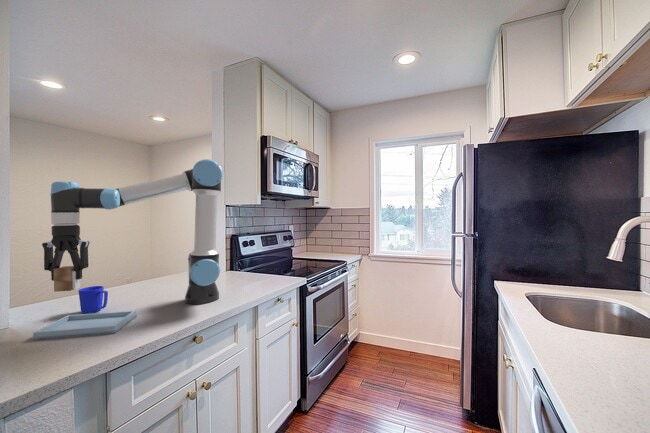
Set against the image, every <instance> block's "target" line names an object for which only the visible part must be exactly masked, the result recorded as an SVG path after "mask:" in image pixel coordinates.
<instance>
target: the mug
mask: <svg viewBox="0 0 650 433" xmlns="http://www.w3.org/2000/svg"><path fill="white" fill-rule="evenodd" d="M104 288H105V287H104V286H102V285H93V286H88V287H82V288H80V289H78V296H79V297H78V298H79V306H80V312H81V313H82V314H93V313H99V311H101V310H103V309H104V308H106V307H107V304H108V300H109V299H108V296H109V291H108V290H104Z"/></svg>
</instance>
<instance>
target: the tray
mask: <svg viewBox="0 0 650 433" xmlns="http://www.w3.org/2000/svg"><path fill="white" fill-rule="evenodd" d="M137 314H138V312H137V310H123V311H122V310H121V311H111V312H110V311H107V312H95V313H89V314H84V313H82V314H67V315H66V316H64V317H62V318H60V319H57V320H56V321H54V322H51V323H50V324H47V325H46V326H44V327H42V328H40V329H38V330H36V331H34V332H33V333H32V334H33V340H34V341H37V340H38V341H39V340H52V339H61V338H62V339H65V338H74V337H86V336H98V334H100V335H109V333H112V334H116V333H117V332H118V331H120V330H122V329H123V328H124V327H125V326H127V325H128V324H129V323H130V322H132V321H133V320H134V319H136V318H137V316H138V315H137ZM122 327H123V328H122Z"/></svg>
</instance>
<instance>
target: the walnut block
mask: <svg viewBox="0 0 650 433" xmlns="http://www.w3.org/2000/svg"><path fill="white" fill-rule="evenodd" d="M74 270H75V269H74V266H73V265H65V266H60V268H56V269H54V281H53V290H54V291H53V292H54V293H55V292H72V291H74V290H75V289H73V281H72V271H74Z"/></svg>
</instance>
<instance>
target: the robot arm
mask: <svg viewBox="0 0 650 433" xmlns="http://www.w3.org/2000/svg"><path fill="white" fill-rule="evenodd" d="M223 177H224V174H223V168H222V167H221V166H220V164H219V163H218V162H216V161H215V160H212V159H208V158H206V159H201V160H199V161H197V162H196V163H195V164H194V165H193V168H191V169H188V170H184V171H183V172H182V173H181V174H177V175H171V176H168V177H163V178H159V179H155V180H150V181H145V182H141V183H136V184H132V185H127V186H123V187H119V188H84V187H80V185H79V183H78V182H73V181H54V182H52V183H51V184H50V186H51V187H50V195H49V196H50V206H51V208H50V209H51V211H50V212H51V213H50V214H51V215H50V216H51V217H50V218H51V224H52V226H51V236H52V238H51V240H50V241H48V242H47V241H46V242H42V244H41V245H42V248H43V257H44V258H43V269H44V271H49V272H50V274H51V275H50V276H51V277H50V278H51V279H50V280H51V281H52V282H54V269H56V268H60V267H61V263H62V261H63V257H64V254H65V253H66V252H67V253H68V254H69V256H70V259H71V262H72V266H74V269H75V270H74V271H72V281H73V289H74V290H76V289H79V288H80V289H81V279H82V278H83V270H85V269H88V268H89V245H90V243H91V242H90V241H89V240H86V241H85V240H82V239H81V237H80V235H81V226H80V224H81V223H80V220H81V219H80V218H81V217H80V212H81V211H80V210H81V209H101V210H102V209H104V210H114V209H118V208H119V207H123V206H127V205H130V204H134V203H135V204H136V203H139V202H143V201H147V200H151V199H156V198H159V197H164V196H168V195H173V194H177V193H181V192H184V191H189V192H193V193H194V194H195V207H194V208H195V210H194V213H195V214H194V216H195V217H194V243H193V244H194V245H193V246H194V247H193V250H192V251H191V252H190V253H188V256H187V257H188V258H187V260H188V261H187V262H188V264H187V265H188V286H187V290H186V292H185V295H184V303H186V304H189V305H200V304H207V303H213V302H215V301H217V300H218V299H220V291H219V289H218V287H217V286H218V285H217V283H216V281H217V280H218V278H219V276H220V274H221V273H220V272H221V267H220V265H219V264H220V252H219V251H218V250H217V249H216V242H217V239H216V238H217V211H218V210H217V206H218V204H217V203H218V196H219V194H220V193H221V192H222V190H221V189H222V179H223ZM78 246H79V247H78ZM54 247H55V248H54Z"/></svg>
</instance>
